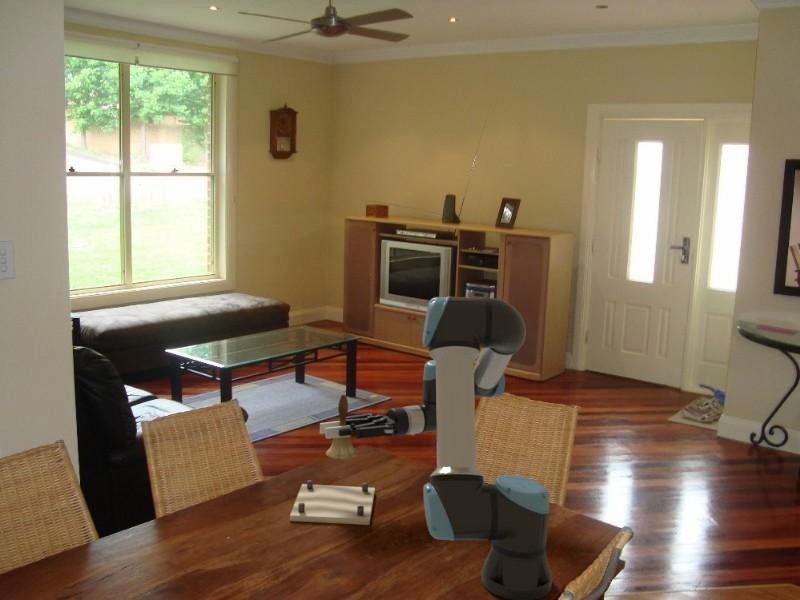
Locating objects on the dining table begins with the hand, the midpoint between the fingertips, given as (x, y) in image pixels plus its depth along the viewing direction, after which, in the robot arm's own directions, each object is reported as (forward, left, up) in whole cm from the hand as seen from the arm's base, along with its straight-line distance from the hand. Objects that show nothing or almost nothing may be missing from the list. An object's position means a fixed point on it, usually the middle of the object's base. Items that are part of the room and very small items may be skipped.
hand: (323, 430), depth 209 cm
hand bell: (+3, -5, -7) cm, 9 cm away
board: (+1, -3, -21) cm, 21 cm away
